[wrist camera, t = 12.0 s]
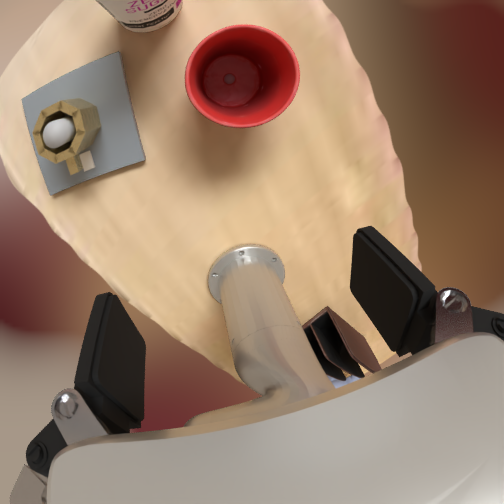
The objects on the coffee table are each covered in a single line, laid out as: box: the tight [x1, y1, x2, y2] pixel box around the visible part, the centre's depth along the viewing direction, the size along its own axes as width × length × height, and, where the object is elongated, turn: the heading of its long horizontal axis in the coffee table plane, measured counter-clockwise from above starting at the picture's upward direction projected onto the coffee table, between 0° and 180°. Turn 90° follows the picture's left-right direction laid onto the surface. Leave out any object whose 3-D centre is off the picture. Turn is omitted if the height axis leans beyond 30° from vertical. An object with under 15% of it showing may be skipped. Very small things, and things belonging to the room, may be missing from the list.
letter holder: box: [302, 306, 382, 381], centre depth 55 cm, size 10×20×14 cm, turn 43°
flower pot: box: [185, 25, 300, 128], centre depth 26 cm, size 11×11×10 cm
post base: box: [22, 51, 146, 196], centre depth 25 cm, size 15×15×8 cm
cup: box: [32, 98, 101, 175], centre depth 25 cm, size 9×7×6 cm
